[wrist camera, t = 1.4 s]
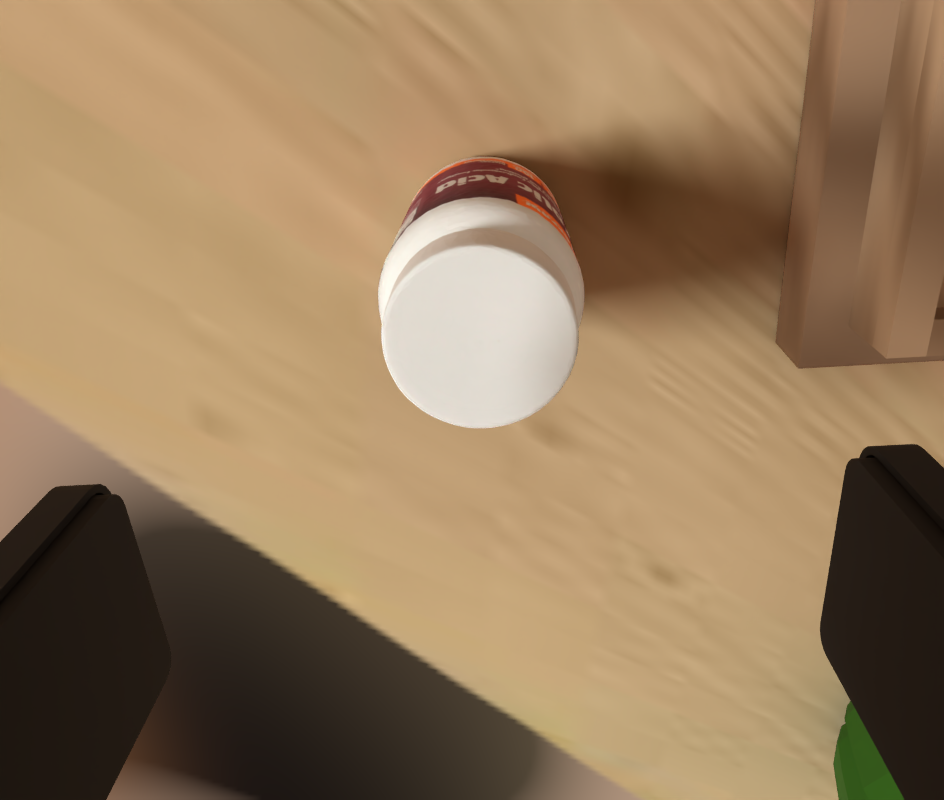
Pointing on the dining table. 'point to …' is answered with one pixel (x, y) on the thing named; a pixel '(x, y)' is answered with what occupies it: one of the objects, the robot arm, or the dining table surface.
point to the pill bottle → (481, 296)
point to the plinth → (868, 190)
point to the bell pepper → (861, 764)
